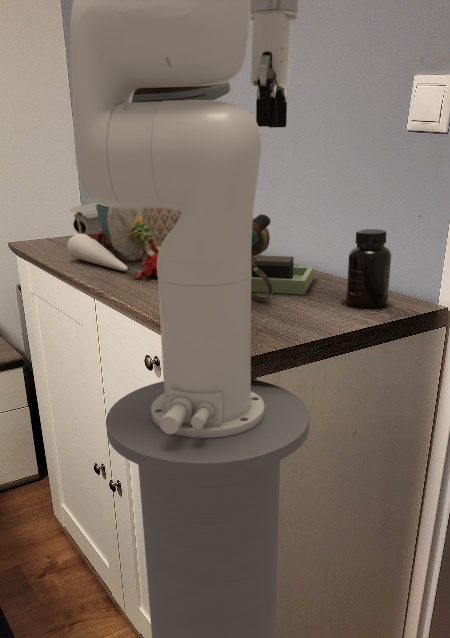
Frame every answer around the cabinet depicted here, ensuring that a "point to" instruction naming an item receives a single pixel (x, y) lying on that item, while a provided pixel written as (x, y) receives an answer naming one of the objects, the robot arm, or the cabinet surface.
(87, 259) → the long cone
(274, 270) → the back pad
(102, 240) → the dental model
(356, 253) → the supplement bottle
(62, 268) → the cabinet surface
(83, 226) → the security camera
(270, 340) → the cabinet surface
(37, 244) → the cabinet surface
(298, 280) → the rectangular tray
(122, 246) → the fossil
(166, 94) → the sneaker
